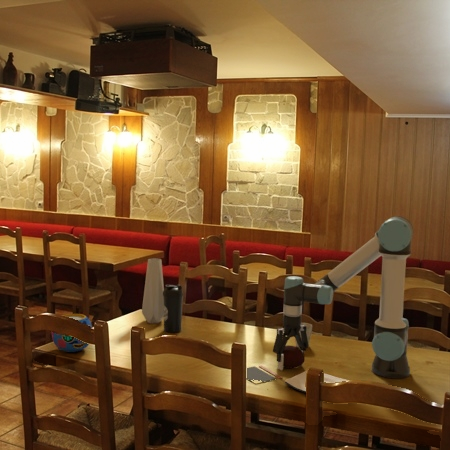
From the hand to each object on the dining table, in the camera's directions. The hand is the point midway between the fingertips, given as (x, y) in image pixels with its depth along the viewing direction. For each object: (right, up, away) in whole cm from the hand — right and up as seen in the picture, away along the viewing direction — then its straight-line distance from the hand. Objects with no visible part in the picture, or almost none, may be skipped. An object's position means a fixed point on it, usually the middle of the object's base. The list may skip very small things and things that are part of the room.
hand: (290, 367), depth 235 cm
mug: (+9, +2, +26) cm, 28 cm away
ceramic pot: (-94, +4, +14) cm, 95 cm away
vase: (-65, +8, +62) cm, 90 cm away
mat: (-15, -1, -10) cm, 18 cm away
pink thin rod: (-9, -1, -6) cm, 11 cm away
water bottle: (-53, +6, +47) cm, 71 cm away
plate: (+8, -3, -19) cm, 21 cm away
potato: (0, 0, 0) cm, 0 cm away
